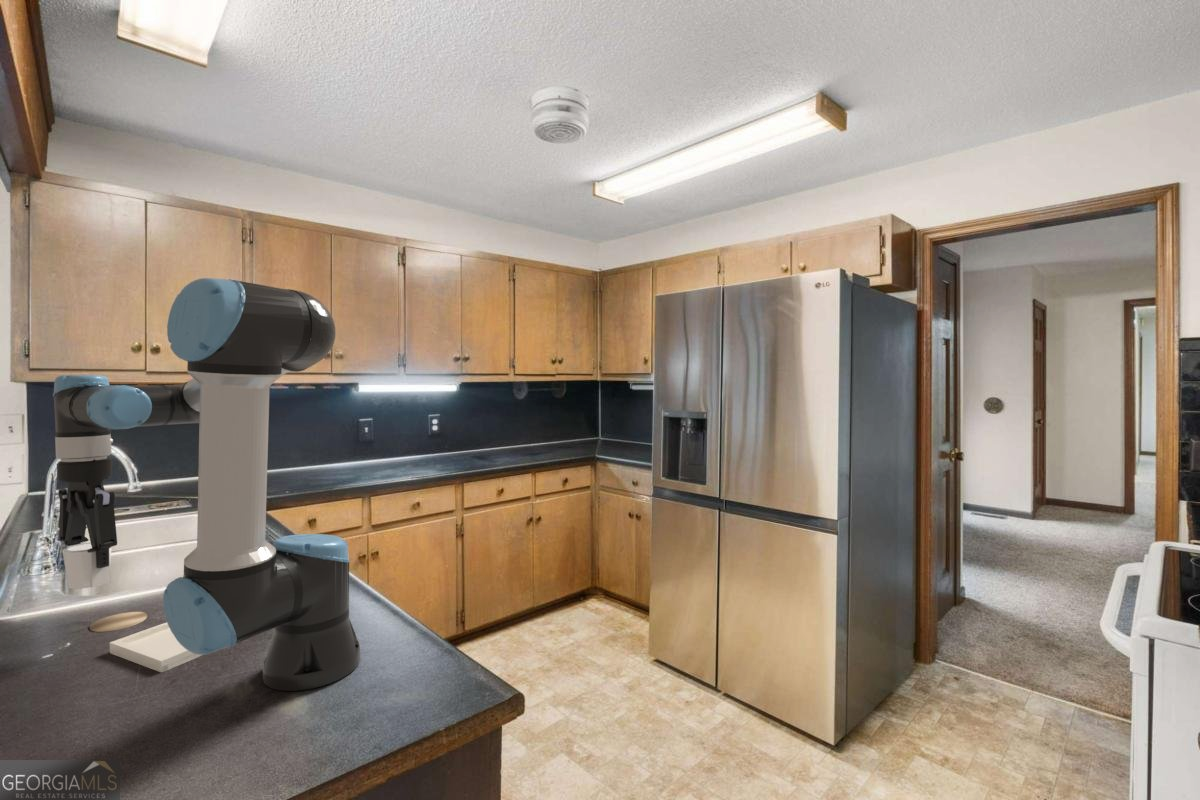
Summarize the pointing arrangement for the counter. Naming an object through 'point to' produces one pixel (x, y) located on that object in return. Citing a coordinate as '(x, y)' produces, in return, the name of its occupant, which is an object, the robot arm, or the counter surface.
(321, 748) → the counter surface
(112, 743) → the counter surface
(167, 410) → the robot arm
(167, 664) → the tray
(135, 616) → the cork coaster
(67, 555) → the white cup
